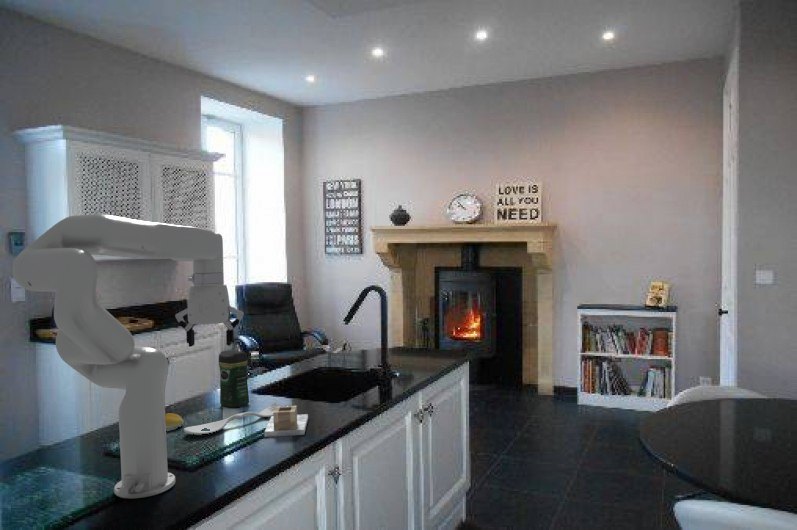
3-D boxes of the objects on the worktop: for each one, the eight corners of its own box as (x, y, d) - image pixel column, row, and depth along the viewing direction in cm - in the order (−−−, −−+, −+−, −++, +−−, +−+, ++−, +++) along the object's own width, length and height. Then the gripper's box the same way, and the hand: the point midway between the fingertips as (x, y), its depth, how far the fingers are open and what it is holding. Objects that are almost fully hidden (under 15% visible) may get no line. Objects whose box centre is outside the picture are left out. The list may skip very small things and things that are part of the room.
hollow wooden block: (295, 428, 166) (294, 411, 165) (273, 430, 165) (273, 412, 165) (297, 422, 172) (296, 405, 171) (276, 423, 171) (275, 406, 171)
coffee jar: (253, 404, 199) (251, 349, 198) (233, 409, 192) (231, 353, 192) (235, 400, 205) (233, 347, 204) (216, 405, 198) (214, 351, 198)
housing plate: (304, 434, 165) (303, 415, 165) (264, 436, 164) (264, 417, 164) (308, 419, 180) (307, 401, 180) (271, 420, 179) (271, 403, 179)
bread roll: (153, 434, 170) (153, 420, 170) (154, 425, 178) (154, 412, 178) (184, 430, 173) (183, 417, 173) (183, 422, 181) (183, 409, 181)
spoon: (291, 416, 184) (290, 406, 184) (192, 442, 162) (192, 430, 162) (275, 411, 190) (275, 400, 190) (179, 435, 168) (178, 423, 168)
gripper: (170, 281, 148) (172, 348, 149) (239, 279, 150) (241, 346, 150) (179, 280, 156) (180, 344, 156) (245, 278, 157) (246, 342, 158)
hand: (210, 345), depth 153 cm, fingers open, 9 cm apart
